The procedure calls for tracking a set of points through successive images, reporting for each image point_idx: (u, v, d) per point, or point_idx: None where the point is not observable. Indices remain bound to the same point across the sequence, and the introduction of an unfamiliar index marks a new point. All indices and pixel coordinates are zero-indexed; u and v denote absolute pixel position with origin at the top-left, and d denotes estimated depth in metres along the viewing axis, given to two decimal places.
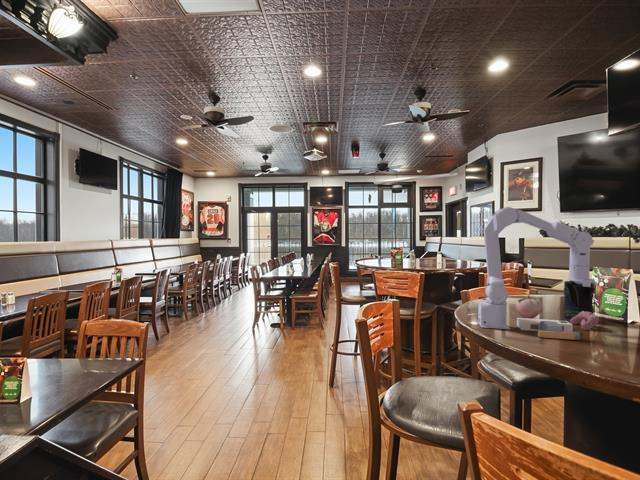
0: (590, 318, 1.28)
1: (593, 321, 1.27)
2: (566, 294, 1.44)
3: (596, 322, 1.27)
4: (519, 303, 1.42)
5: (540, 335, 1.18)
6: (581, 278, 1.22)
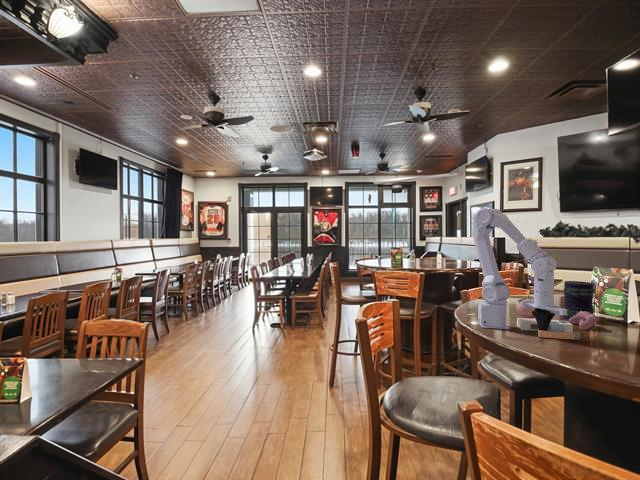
0: (588, 318, 1.28)
1: (591, 321, 1.27)
2: (566, 294, 1.44)
3: (594, 322, 1.27)
4: (519, 303, 1.42)
5: (540, 335, 1.18)
6: None
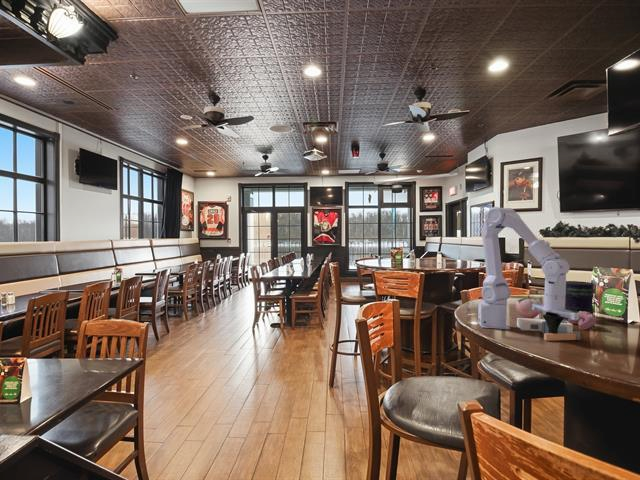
0: (587, 318, 1.28)
1: (590, 321, 1.27)
2: (566, 294, 1.44)
3: (594, 322, 1.27)
4: (519, 303, 1.42)
5: (547, 338, 1.14)
6: None
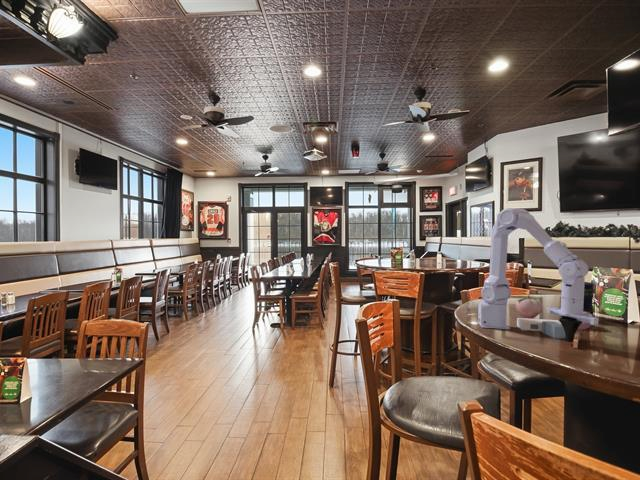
0: None
1: None
2: None
3: None
4: (519, 303, 1.42)
5: (577, 346, 1.07)
6: None
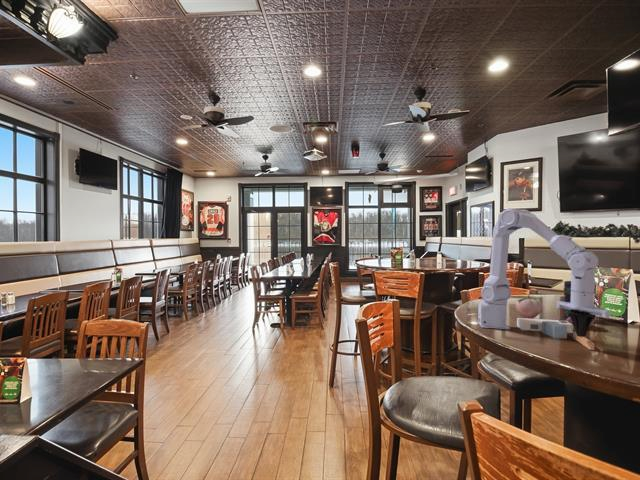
0: None
1: None
2: (566, 294, 1.44)
3: (592, 322, 1.27)
4: (519, 303, 1.42)
5: None
6: None
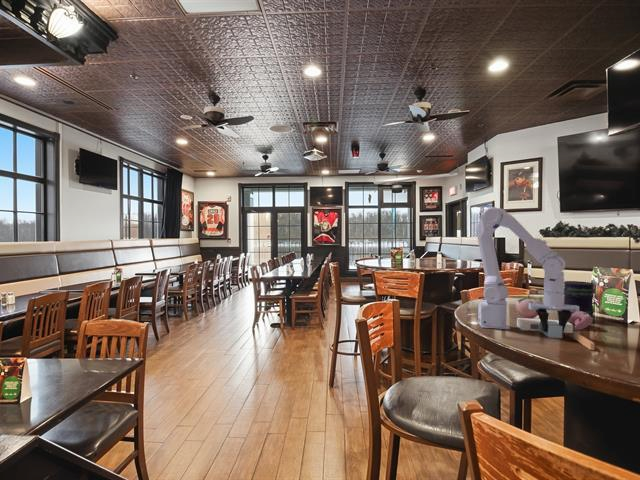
0: (584, 318, 1.29)
1: (587, 321, 1.28)
2: (566, 294, 1.44)
3: (590, 322, 1.28)
4: (519, 303, 1.42)
5: None
6: (543, 303, 1.21)
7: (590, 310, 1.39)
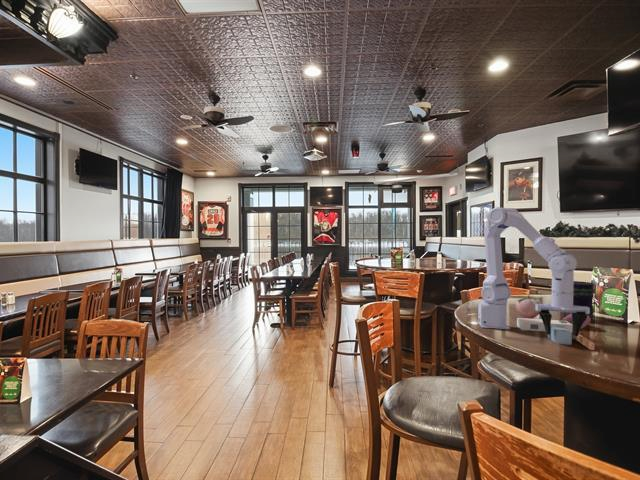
0: None
1: (585, 321, 1.28)
2: None
3: (588, 322, 1.28)
4: (519, 303, 1.42)
5: None
6: (551, 304, 1.14)
7: (590, 310, 1.39)
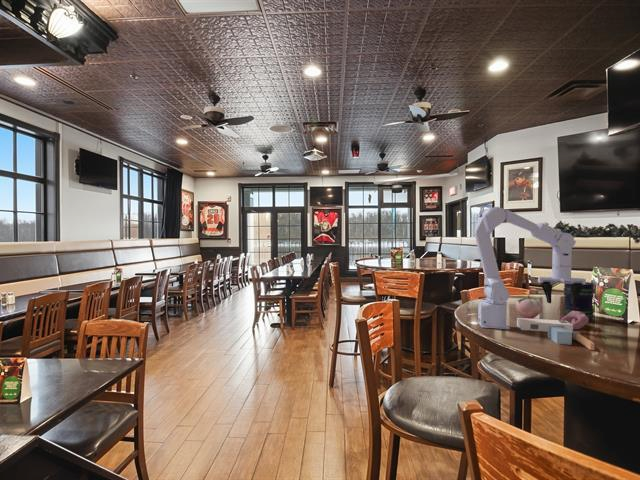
0: (580, 318, 1.29)
1: (583, 320, 1.28)
2: (566, 294, 1.44)
3: (586, 322, 1.28)
4: (519, 303, 1.42)
5: None
6: (552, 276, 1.29)
7: (590, 310, 1.39)
